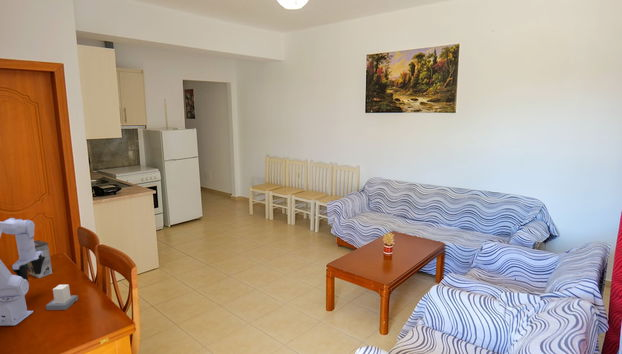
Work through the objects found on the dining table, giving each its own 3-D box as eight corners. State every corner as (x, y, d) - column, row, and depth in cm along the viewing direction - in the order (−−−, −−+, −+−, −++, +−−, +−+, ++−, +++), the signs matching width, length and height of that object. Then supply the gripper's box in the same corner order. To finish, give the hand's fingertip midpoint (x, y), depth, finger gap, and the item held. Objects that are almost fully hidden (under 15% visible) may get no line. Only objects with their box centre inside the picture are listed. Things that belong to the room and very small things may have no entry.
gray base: (66, 309, 151) (65, 305, 151) (46, 309, 151) (45, 305, 151) (78, 299, 159) (77, 295, 158) (59, 299, 159) (59, 295, 158)
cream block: (64, 302, 152) (62, 289, 151) (54, 302, 152) (52, 289, 151) (70, 297, 156) (68, 284, 155) (61, 297, 156) (59, 284, 155)
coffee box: (28, 274, 182) (23, 243, 179) (43, 269, 188) (38, 239, 185) (38, 278, 178) (33, 247, 175) (53, 273, 184) (48, 242, 181)
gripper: (22, 254, 148) (28, 286, 150) (48, 241, 162) (52, 270, 165) (4, 254, 148) (10, 286, 150) (32, 241, 162) (36, 270, 165)
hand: (31, 277), depth 157 cm, fingers open, 7 cm apart
